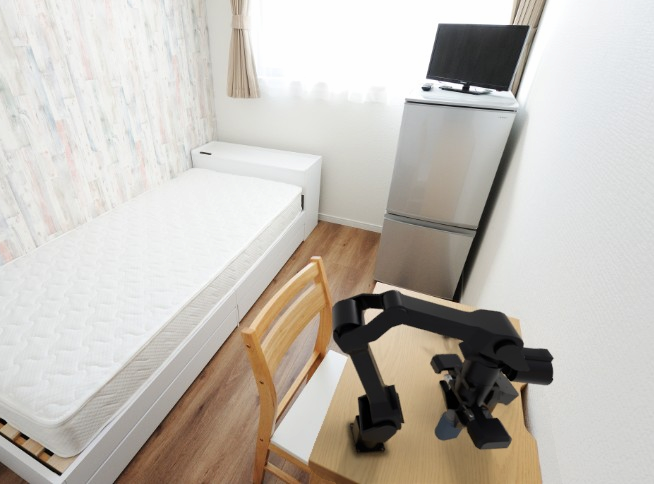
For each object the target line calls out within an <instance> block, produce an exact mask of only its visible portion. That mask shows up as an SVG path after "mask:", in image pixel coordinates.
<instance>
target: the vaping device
mask: <svg viewBox="0 0 654 484" xmlns="http://www.w3.org/2000/svg"><path fill="white" fill-rule="evenodd" d="M465 410H466V409H465V407H464V406H463V405H461V404H459V406H458V408H457V409H456V410H452V409H448V410H447V409H446V410H445V411H444V412H443V413H442V414H441V416H440V418H439V420H438V422H437V423H436V426H435V428H434V435H435V437H436V438H437V439H438V440H439V441H448V440H455V439H458V437H459V435H460V434H461V432H462V430H463V428H461V429H455V427H454V418H455V411H465Z"/></svg>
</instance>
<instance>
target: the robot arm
mask: <svg viewBox="0 0 654 484" xmlns="http://www.w3.org/2000/svg"><path fill="white" fill-rule="evenodd" d="M371 309H372V310H382V311H380V312H379V313H378V314H377V315H376V316H375V317H374V318H373V319H371V320H370V321H368V323H366V319H365V312H364V311H367V310H371ZM402 325H403V326H408V327H410V328H414V329H418V330H422V331H424V332H425V331H426V332H429V333H433V334H436V335H440V336H443V337H444V336H446V338H447V337H448V338H451V339H454V340H459V341H460V342H458V343H457V346H458V347H459V350H460V352H461V354H462V357H463V359H464V360H463V359H461V357H460V356H459V355H458V354H457V353H436V354H434V355H433V356H432V357H431V359H430V361H429V365H430V367H431V368H432V370H433V372H434V374H437V375H441V374H442V372H447V373H445V374H443V379H440V380H439V381H438V384H439V386H440V389H441V394H442V396H443V401H444V405H445V409H446V411H447V410H448V409H452V410H456V409H457V408H458V406H459V404H461V405H463V406H464V407H465V409H466V410H465V411H455V418H454V427H455V429H461V428H462V429H464V428H466V433H467V434H468V436H469V438H470V440H471V442H472V444H473V446H474V447H475V448H477V449H478V450H480V451H485V450H498V449H499V450H500V449H501V450H502V449H508V448H509V447H510V445H511V443H512V441H513V438H512V436H511V435H510V433H509V432H508V430H507V428H506V427H505V425H504V423H503V422H502V421H501V419H500V418H499V417H494V416H493V413H492V414H491V413H490V411H489V410H488V408H487V407H486V406H493V405H494V403H495V402H496V403H498V404H502V405H504V406H509V405H510V404H512V402H513V401H515V399H517V398H518V397H519V396H520V393H519V391H518V390H517V388H515V386H514V385H513V384H512V383H518V384H519V383H521V384H530V385H539V386H549V385H551V384H552V383H553V381H554V366H553V363H552V362H553V361H554V359H555V358H554V356H553V355H552V353H551V352H550V351H549V349H548V348H542V347H537V348H535V347H527V346H525V343H524V340H523V338H522V337H521V336H520V334H519V333H518V330H517V329H516V328H515V325H514V324H513V323H512V322H511V320H510V318H509V317H508V315H506V313H504V312H502V311H499V310H492V309H485V308H484V309H483V308H478V309H475V310H471V311H466V310H461V309H457V308H454V307H450V306H447V305H443V304H441V303H440V304H439V303H436V302H433V301H430V300H425V299H421V298H417V297H414V296H410V295H406V294H403V293H402V292H401V291H400V290H397V289H389V290H387V291H386V290H385V291H383V292H381V293H368V292H363V293H359V294H356V295H353V296H351V297H347V298H345V299H341V300H338V301H336V302H335V303H334V304H333V306H332V307H331V326H332V328H331V329H332V340H333V341H334V343H335V344H336V346H337V347H338V348H339V350H340V352H342V353H343V354H345V355H348V356H349V358H350V360H351V362H352V365H353V367H354V369H355V371H356V374H357V376H358V379H359V381H360V383H361V386H362V387H363V390H364V392H365V394H363V395H360V396H358V397H357V407H358V414H356V415H355V417H354V420H353V422H350V424H349V429H350V433H351V438H352V441H353V445H354V449H355V452H356V453H357V454H371V453H373V454H374V453H384V452H386V447H385V443H387V442H388V441H389V440H390V439H391V438H392V437H394V436H395V435H396V434H397V432H398V431H401V430H402V428H403V426H402V425H403V424H405V419H404V413H403V410H402V405H401V404H402V403H401V399H400V394H399V393H398V392H397V390H396V385H395V384H390V385H388V384H385V382H384V379H383V376H382V374H381V371H380V369H379V367H378V366H379V365H378V363H377V361H376V358H375V356H374V352H373V351H372V348H371V344H370V343H373V342H376V341H378V340H379V339H380V338H381V337H382V336H383V335H385V334H386V333H387V332H389V330H391V329H392V328H395V327H398V326H402ZM524 346H525V347H524ZM448 373H449V374H448ZM483 404H486V406H484V405H483Z"/></svg>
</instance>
